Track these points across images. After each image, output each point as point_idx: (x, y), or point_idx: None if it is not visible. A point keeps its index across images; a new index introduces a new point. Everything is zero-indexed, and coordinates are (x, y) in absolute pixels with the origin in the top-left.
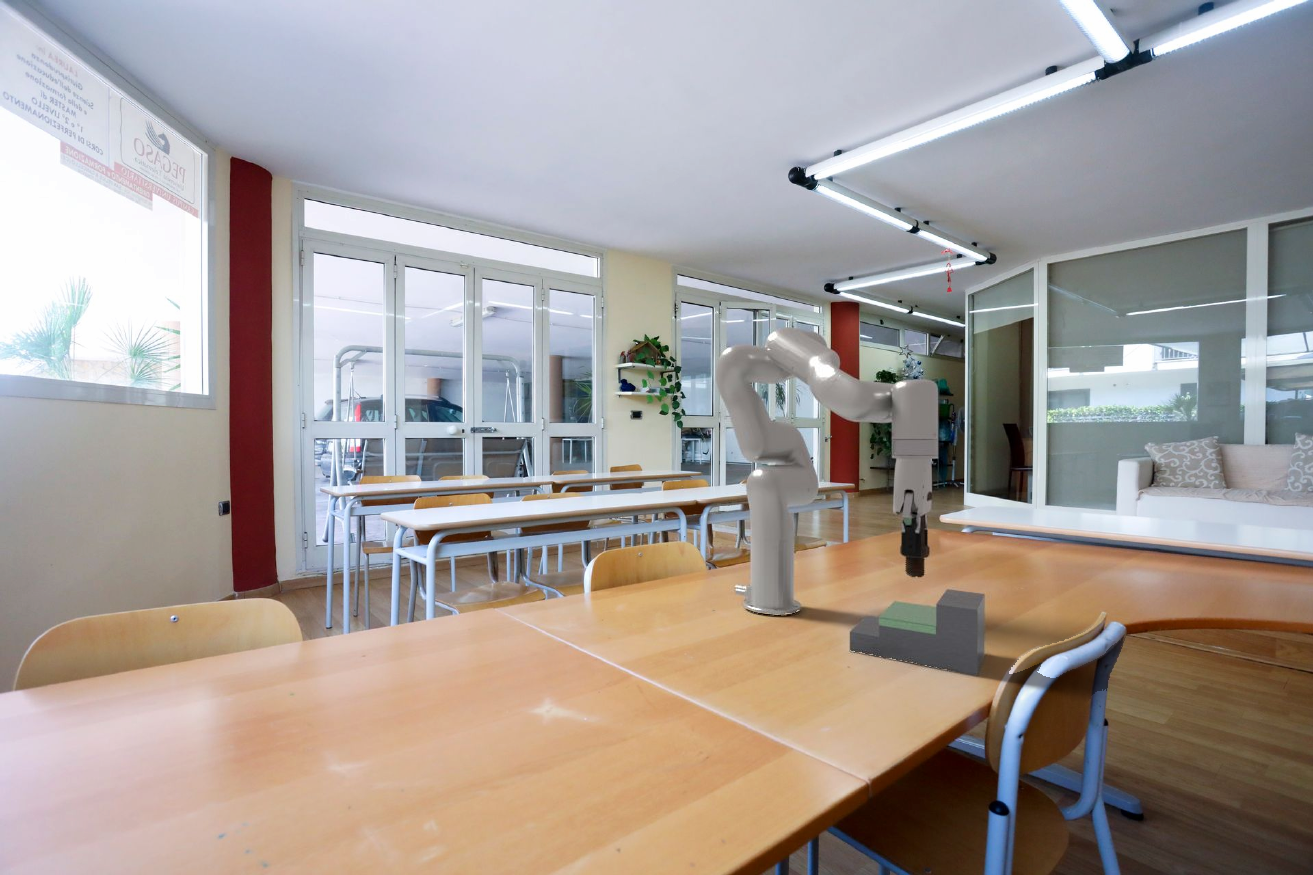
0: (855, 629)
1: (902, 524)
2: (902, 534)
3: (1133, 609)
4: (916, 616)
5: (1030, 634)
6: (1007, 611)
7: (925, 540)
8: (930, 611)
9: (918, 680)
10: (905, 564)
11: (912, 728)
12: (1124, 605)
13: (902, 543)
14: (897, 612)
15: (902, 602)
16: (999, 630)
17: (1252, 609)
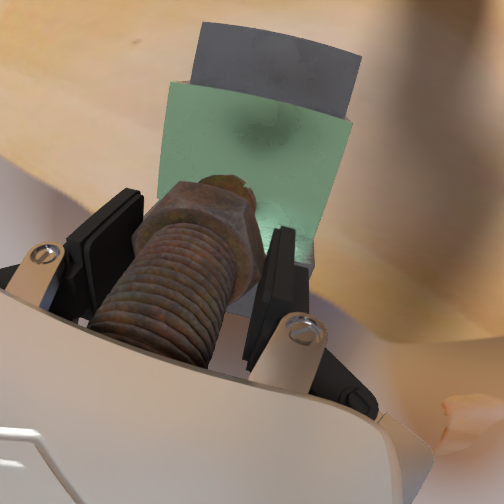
0: (225, 30)
1: (17, 270)
2: (75, 237)
3: (476, 405)
4: (211, 164)
5: (404, 326)
6: (498, 318)
7: (250, 320)
8: (272, 199)
9: (126, 145)
10: (210, 183)
11: (19, 148)
12: (488, 401)
13: (102, 212)
14: (230, 122)
15: (342, 142)
16: (421, 295)
17: (457, 445)
